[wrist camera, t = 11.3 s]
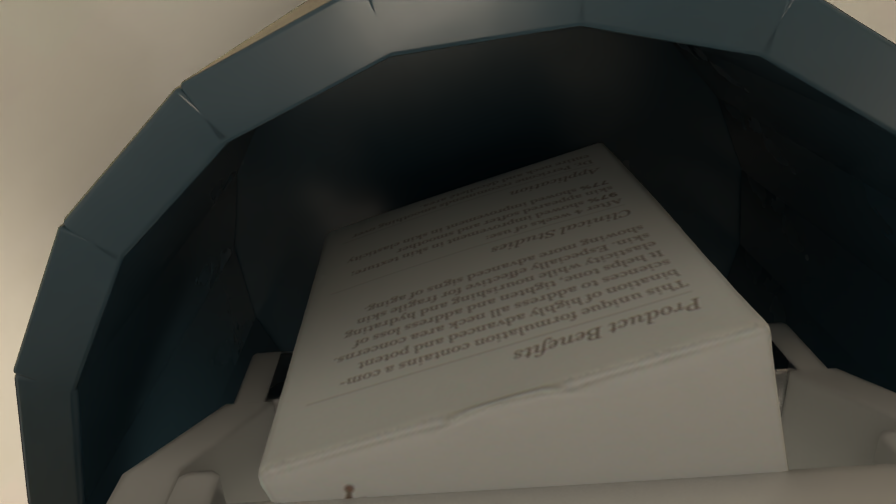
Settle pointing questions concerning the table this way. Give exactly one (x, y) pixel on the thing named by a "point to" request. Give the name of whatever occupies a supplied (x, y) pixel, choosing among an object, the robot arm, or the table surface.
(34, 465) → the tin
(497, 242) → the product box
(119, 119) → the table surface
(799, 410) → the robot arm
